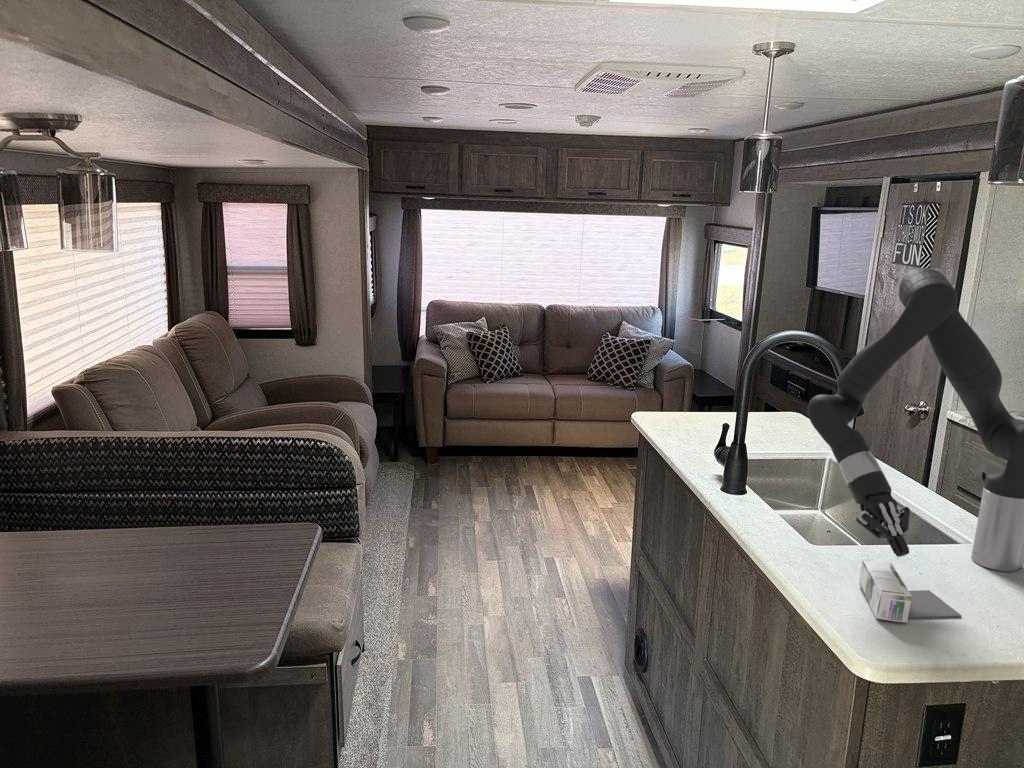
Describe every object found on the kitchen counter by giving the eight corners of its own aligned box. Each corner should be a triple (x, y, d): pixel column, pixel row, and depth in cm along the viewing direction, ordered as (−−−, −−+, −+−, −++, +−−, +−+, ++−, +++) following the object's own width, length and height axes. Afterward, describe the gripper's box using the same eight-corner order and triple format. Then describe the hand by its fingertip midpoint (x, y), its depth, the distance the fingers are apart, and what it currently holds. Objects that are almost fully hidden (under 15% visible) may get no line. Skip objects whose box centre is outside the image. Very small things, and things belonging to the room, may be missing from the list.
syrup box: (887, 587, 158) (909, 624, 144) (857, 584, 159) (876, 620, 145) (891, 562, 157) (914, 596, 143) (861, 559, 158) (881, 592, 144)
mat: (928, 591, 157) (929, 590, 157) (961, 617, 148) (961, 615, 148) (865, 593, 156) (865, 591, 156) (893, 619, 146) (893, 617, 146)
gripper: (876, 481, 166) (915, 557, 158) (829, 488, 162) (866, 566, 153) (899, 466, 160) (941, 544, 152) (851, 472, 156) (891, 553, 147)
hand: (903, 555), depth 153 cm, fingers closed
